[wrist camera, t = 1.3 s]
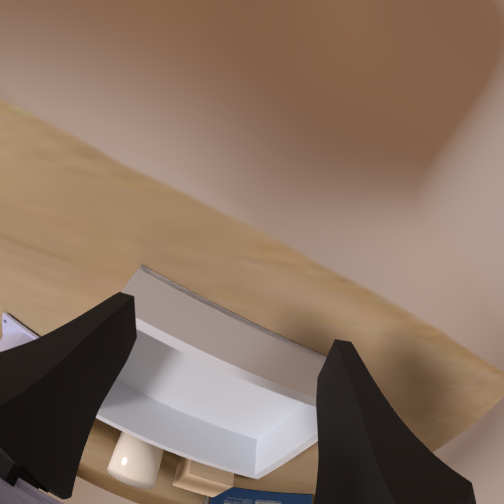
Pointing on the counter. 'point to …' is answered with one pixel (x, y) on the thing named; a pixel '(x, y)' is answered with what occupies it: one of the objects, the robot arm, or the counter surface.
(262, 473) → the box
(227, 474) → the maple cube
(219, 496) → the protein box
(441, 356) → the counter surface
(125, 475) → the cream cylinder
